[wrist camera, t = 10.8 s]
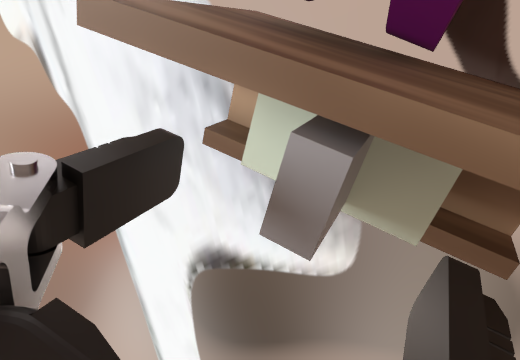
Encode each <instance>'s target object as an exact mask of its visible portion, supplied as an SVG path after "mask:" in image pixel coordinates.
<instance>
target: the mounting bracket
mask: <svg viewBox="0 0 520 360" xmlns="http://www.w3.org/2000/svg"><path fill="white" fill-rule="evenodd" d="M306 1H313V0H306ZM462 1H463V0H391V1H390V7H389V13H388V18H387V24H386V33H388V34H390V35H393V36H395V37H398V38H400V39H403V40H405V41H408V42H410V43H413V44H415V45H418V46H420V47H423V48H425V49H428V50H430V51H432V52H433V51H434V49H435V48H436V46H437V44H438V43H439V41H440V40H441V38H442V36H443V34H444V33H445V31H446V29H447V27H448V26H449V24H450V22H451V21H452V19H453V17H454V15H455V14H456V12H457V10H458V8H459V7H460V5H461V3H462Z"/></svg>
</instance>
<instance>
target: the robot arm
mask: <svg viewBox="0 0 520 360" xmlns="http://www.w3.org/2000/svg"><path fill="white" fill-rule="evenodd" d="M183 150H184V141H183V139H182V138H181V137H180V136H178V135H175V134H173V133H171V132H169V131H166V130H164V129H161V128H159V129H155V130H152V131H149V132H146V133H143V134H141V135H138V136H134V137H125V138H121V139H118V140H115V141H112V142H110V144H108V143H106V144H103V145H100V146H98V148H96V147H94V148H91V149H88V150H85V151H82V152H79V153H76V154H73V155H70V156H67V157H64V158H61V159H58V160H54V159H53V158H52V157H50V156H48V155H45V154H41V153H35V152H17V153H10V154H6V155H3V156H0V360H120V359H119V357H118V356H117V354H116V353H115V352H114V350H113V349H112V348H111V346H110V345H109V344H108V342H107V341H106V339H105V338H104V337H103V335H102V334H101V333H100V331H99V330H98V329H97V327H96V326H95V324H93V323H92V322H90V321H89V320H87V319H86V318H85V317H83V316H82V315H80V314H79V313H77V312H76V311H75V310H73V309H72V308H70V307H69V306H68V305H66V304H65V303H63V302H62V301H61V300H59V299H58V298H55V299H54V300H52V301H51V302H49V303H48V304H46V305H45V306H43V307H42V308H41V309H39V310H38V308H39V304H40V302H41V299H42V297H43V295H44V292H45V290H46V288H47V285H48V283H49V281H50V278H51V276H52V274H53V271H54V269H55V267H56V264H57V262H58V260H59V257H60V255H61V253H62V242H63V241H65V240H67V239H70V240H72V241H73V242H75V243H77V244H78V245H80V246H81V247H83V248H86V247H88V246H89V245H91V244H93V243H94V242H96V241H98V240H99V239H101V238H103V237H104V236H106V235H108V234H109V233H111V232H113V231H114V230H116V229H118V228H119V227H121V226H123V225H124V224H126V223H128V222H129V221H131V220H133V219H134V218H136V217H138V216H139V215H141V214H143V213H144V212H146V211H148V210H149V209H151V208H153V207H154V206H156V205H158V204H159V203H161V202H163V201H164V200H166V199H168V198H169V197H171V196H172V195H173V193H174V192H175V191H176V189H177V187H178V184H179V180H180V173H181V165H182V158H183ZM510 339H511V334H510V329H509V325H508V320H507V318H506V317H505V315H504V314H503V312H502V310H501V309H500V308H499V306H498V304H497V303H496V301H495V300H494V299H492V298H490V297H488V296H486V295H483V294H482V286H481V279H480V272H479V271H478V269H475V268H473V267H471V266H469V265H467V264H464V263H462V262H460V261H458V260H455V259H453V258H451V257H449V256H445V257H443V258H442V260H441V261H440V262H439V264H438V265H437V267H436V269H435V270H434V272H433V274H432V275H431V277H430V278H429V280H428V281H427V283H426V285H425V286H424V288H423V289H422V291H421V293H420V294H419V296H418V297H417V299H416V301H415V303H414V305H413V307H412V310H411V312H410V316H409V319H408V325H407V333H406V340H405V348H404V356H403V360H516V358H515V357H514V354H515V353H514V348H513V344H512V341H510Z"/></svg>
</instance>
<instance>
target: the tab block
mask: <svg viewBox="0 0 520 360" xmlns="http://www.w3.org/2000/svg"><path fill="white" fill-rule="evenodd" d="M241 165H243V166H246V167H248V168H250V169H252V170H254V171H256V172H258V173H260V174H263V175H265V176H267V177H269V178H271V179H273V180H275V181H276V182H275V185H274V188H273V191H272V194H271V198H270V201H269V204H268V207H267V211H266V214H265V217H264V220H263V223H262V227H261V230H260V233H259V234H260V235H262V236H264V237H265V238H267V239H269V240H271V241H273V242H275V243H277V244H279V245H281V246H283V247H284V248H286V249H288V250H290V251H292V252H294V253H296V254H298V255H300V256H301V257H303V258H305V259H307V260H309V261H310V260H311V259H312V257H313V255H314V254H315V252H316V250H317V249H318V247H319V245H320V244H321V242H322V240H323V239H324V237H325V235H326V234H327V232H328V230H329V229H330V227H331V226H332V224H333V222H334V221H335V219H336V217H337V216H338V214H339V212H340V211H342V212H344V213H346V214H348V215H350V216H352V217H354V218H357V219H359V220H361V221H363V222H365V223H367V224H369V225H372V226H374V227H376V228H378V229H380V230H382V231H384V232H387V233H389V234H391V235H393V236H395V237H397V238H400V239H402V240H404V241H406V242H408V243H410V244H412V245H414V246H417V245H418V243H419V241H420V240H421V238H422V236H423V235H424V233H425V231H426V230H427V228H428V226H429V225H430V223H431V221H432V220H433V218H434V216H435V215H436V213H437V211H438V210H439V208H440V206H441V205H442V203H443V201H444V200H445V198H446V196H447V195H448V193H449V191H450V190H451V188H452V186H453V185H454V183H455V181H456V180H457V178H458V176H459V175H460V173H461V171H462V170H463V169H461V168H458V167H455V166H453V165H450V164H447V163H445V162H442V161H439V160H437V159H434V158H431V157H429V156H426V155H423V154H421V153H418V152H415V151H413V150H410V149H407V148H405V147H402V146H399V145H397V144H394V143H391V142H389V141H386V140H383V139H381V138H378V137H375V136H373V135H370V134H367V133H365V132H362V131H359V130H357V129H354V128H351V127H349V126H346V125H343V124H341V123H338V122H335V121H333V120H330V119H327V118H325V117H322V116H319V115H317V114H314V113H311V112H308V111H306V110H303V109H300V108H298V107H295V106H292V105H290V104H287V103H284V102H282V101H279V100H276V99H274V98H271V97H268V96H266V95H263V94H260V93H259V94H258V98H257V102H256V106H255V110H254V114H253V118H252V122H251V126H250V130H249V134H248V138H247V142H246V146H245V150H244V154H243V158H242V162H241Z"/></svg>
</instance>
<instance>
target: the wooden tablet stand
mask: <svg viewBox="0 0 520 360" xmlns="http://www.w3.org/2000/svg"><path fill="white" fill-rule="evenodd" d="M77 25H79V26H81V27H84V28H87V29H89V30H92V31H95V32H98V33H100V34H103V35H106V36H108V37H111V38H114V39H116V40H119V41H122V42H124V43H127V44H130V45H132V46H135V47H138V48H140V49H143V50H146V51H148V52H151V53H154V54H156V55H159V56H162V57H164V58H167V59H170V60H172V61H175V62H178V63H180V64H183V65H186V66H188V67H191V68H194V69H196V70H199V71H202V72H204V73H207V74H210V75H212V76H215V77H218V78H220V79H223V80H226V81H228V82H231V83H234V89H233V94H232V99H231V104H230V109H229V114H228V119H227V120H224V121H222V122H219V123H216V124H214V125H211V126H209V127H206V128H205V131H204V137H203V143H202V144H205V145H207V146H209V147H211V148H214V149H216V150H218V151H220V152H222V153H225V154H227V155H229V156H231V157H234V158H236V159H238V160H240V161H242V158H243V154H244V150H245V146H246V142H247V138H248V134H249V130H250V126H251V122H252V118H253V114H254V110H255V106H256V102H257V98H258V94H259V93H260V94H263V95H266V96H268V97H271V98H274V99H276V100H279V101H282V102H284V103H287V104H290V105H292V106H295V107H298V108H300V109H303V110H306V111H308V112H311V113H314V114H317V115H319V116H322V117H325V118H327V119H330V120H333V121H335V122H338V123H341V124H343V125H346V126H349V127H351V128H354V129H357V130H359V131H362V132H365V133H367V134H370V135H373V136H375V137H378V138H381V139H383V140H386V141H389V142H391V143H394V144H397V145H399V146H402V147H405V148H407V149H410V150H413V151H415V152H418V153H421V154H423V155H426V156H429V157H431V158H434V159H437V160H439V161H442V162H445V163H447V164H450V165H453V166H455V167H458V168H461V169H463V170H462V171H461V173H460V175H459V176H458V178H457V180H456V181H455V183H454V185H453V186H452V188H451V190H450V191H449V193H448V195H447V196H446V198H445V200H444V201H443V203H442V205H441V206H440V208H439V210H438V211H437V213H436V215H435V216H434V218H433V220H432V221H431V223H430V225H429V226H428V228H427V230H426V231H425V233H424V235H423V236H422V238H421V240H420V241H421V242H423V243H426V244H428V245H430V246H432V247H435V248H437V249H439V250H441V251H443V252H446V253H448V254H450V255H452V256H454V257H457V258H459V259H461V260H463V261H466V262H468V263H470V264H472V265H474V266H477V267H479V268H481V269H483V270H486V271H488V272H490V273H492V274H495V275H497V276H499V277H501V278H503V279H506V280H507V279H508V278H509V276H510V275H511V274H512V273H513V271H514V270H515V269H516V268H517V266H518V265H519V264H520V263H519V260H518V257H517V253H516V251H515V247H514V244H513V242H512V238H511V235H512V234H513V233H514V231H515V230H516V229H517V227H518V226H519V225H520V89H518V88H515V87H512V86H508V85H505V84H501V83H498V82H495V81H491V80H488V79H484V78H481V77H478V76H474V75H471V74H468V73H464V72H461V71H457V70H454V69H451V68H447V67H444V66H440V65H437V64H434V63H430V62H427V61H423V60H420V59H417V58H413V57H410V56H406V55H403V54H400V53H396V52H393V51H390V50H386V49H383V48H379V47H376V46H372V45H369V44H366V43H362V42H359V41H355V40H352V39H349V38H346V37H342V36H339V35H336V34H332V33H328V32H325V31H322V30H319V29H315V28H312V27H308V26H305V25H302V24H298V23H295V22H292V21H288V20H285V19H281V18H278V17H274V16H271V15H268V14H264V13H261V12H258V11H252V10H243V9H236V8H228V7H220V6H212V5H204V4H196V3H188V2H180V1H172V0H77Z"/></svg>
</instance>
